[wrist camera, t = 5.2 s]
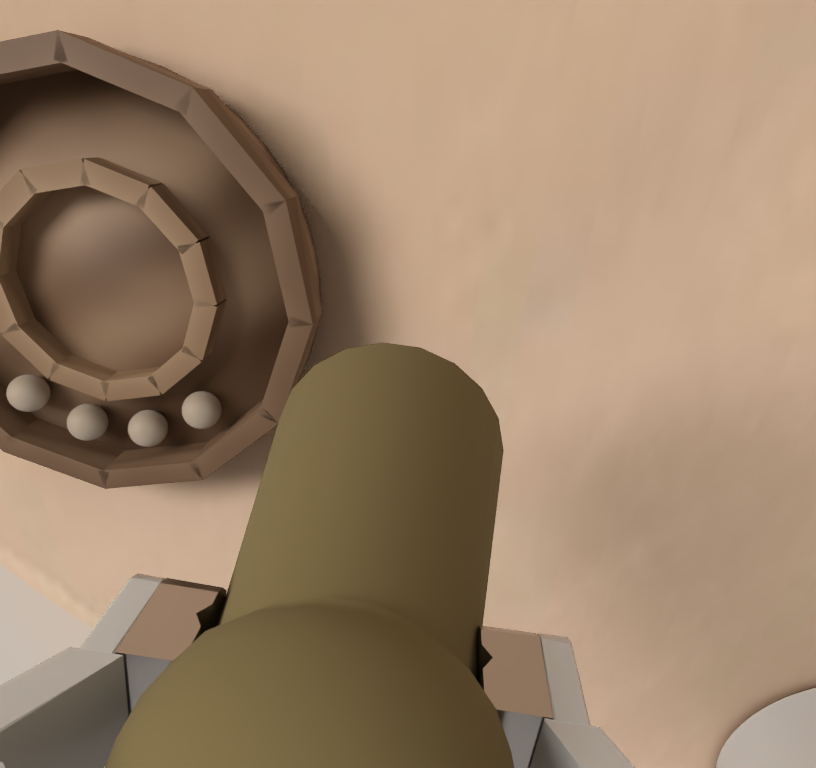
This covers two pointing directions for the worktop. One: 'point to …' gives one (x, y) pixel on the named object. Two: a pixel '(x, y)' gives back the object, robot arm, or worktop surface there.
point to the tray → (141, 269)
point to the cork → (349, 587)
